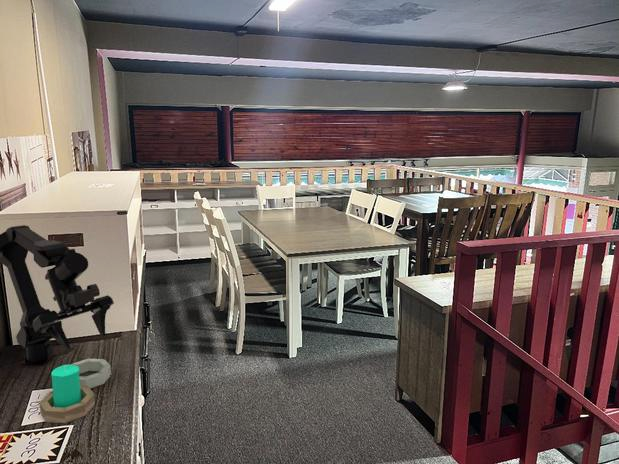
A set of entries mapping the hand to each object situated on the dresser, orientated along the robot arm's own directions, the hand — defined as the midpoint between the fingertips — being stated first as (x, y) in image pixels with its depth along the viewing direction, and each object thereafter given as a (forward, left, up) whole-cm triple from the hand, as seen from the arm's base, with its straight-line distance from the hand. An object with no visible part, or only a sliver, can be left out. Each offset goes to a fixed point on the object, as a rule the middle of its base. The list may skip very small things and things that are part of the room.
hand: (86, 342), depth 115 cm
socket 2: (-4, +7, -14) cm, 16 cm away
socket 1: (-2, -7, -14) cm, 16 cm away
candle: (-2, -7, -14) cm, 16 cm away
